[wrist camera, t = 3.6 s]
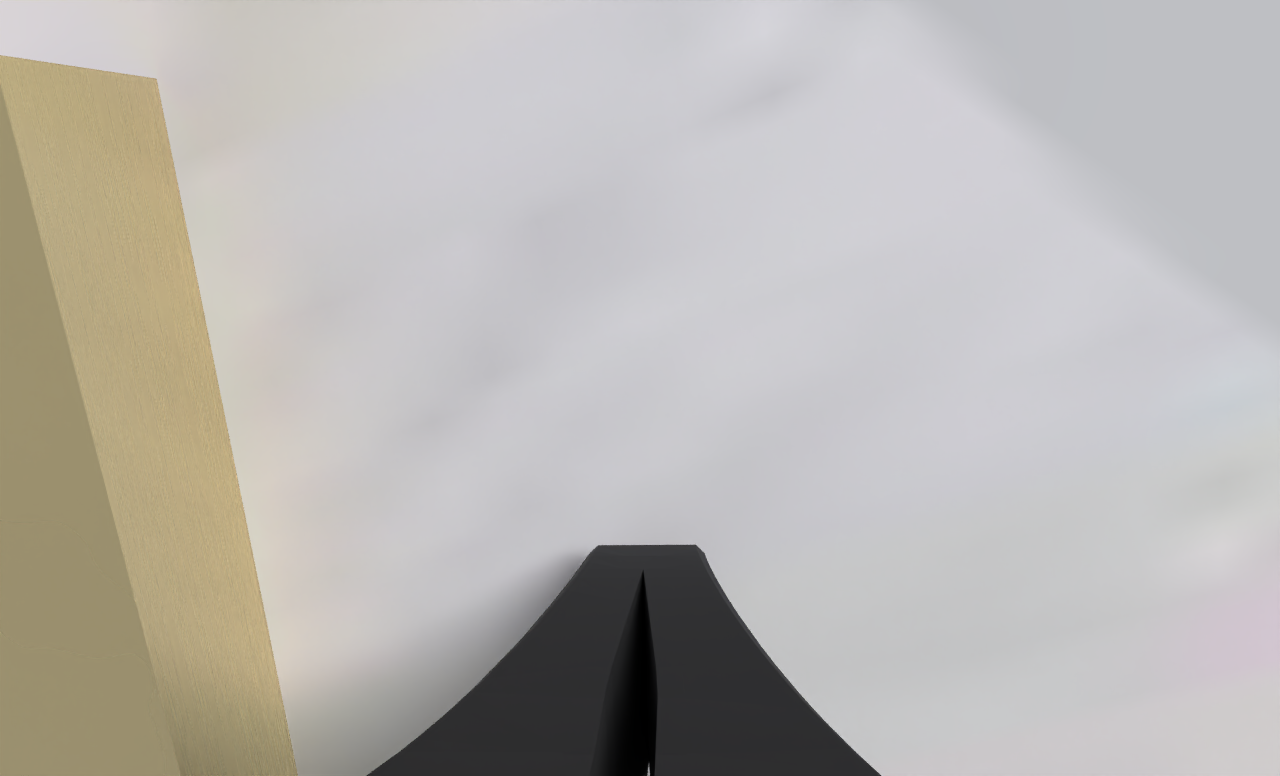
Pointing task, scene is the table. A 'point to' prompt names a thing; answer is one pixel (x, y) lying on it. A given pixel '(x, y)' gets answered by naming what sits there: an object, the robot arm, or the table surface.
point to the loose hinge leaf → (116, 459)
